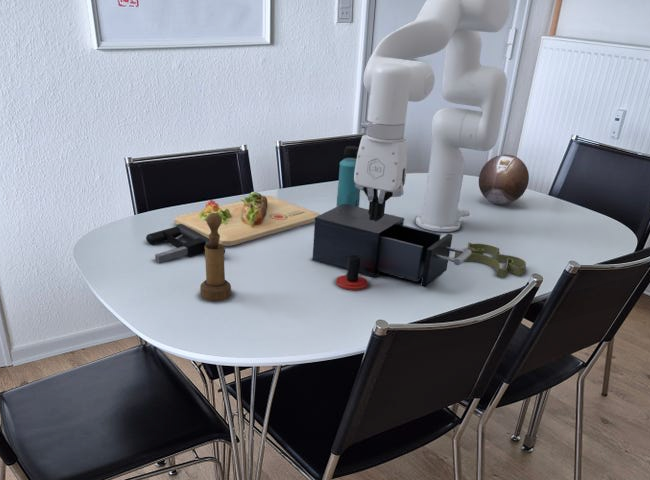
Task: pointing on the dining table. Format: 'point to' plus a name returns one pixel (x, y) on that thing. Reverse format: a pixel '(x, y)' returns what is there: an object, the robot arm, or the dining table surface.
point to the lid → (352, 276)
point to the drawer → (416, 254)
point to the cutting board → (248, 218)
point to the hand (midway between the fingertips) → (375, 218)
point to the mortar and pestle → (215, 265)
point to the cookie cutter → (495, 259)
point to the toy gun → (179, 242)
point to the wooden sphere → (503, 179)
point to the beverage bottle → (348, 179)
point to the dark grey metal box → (350, 237)
